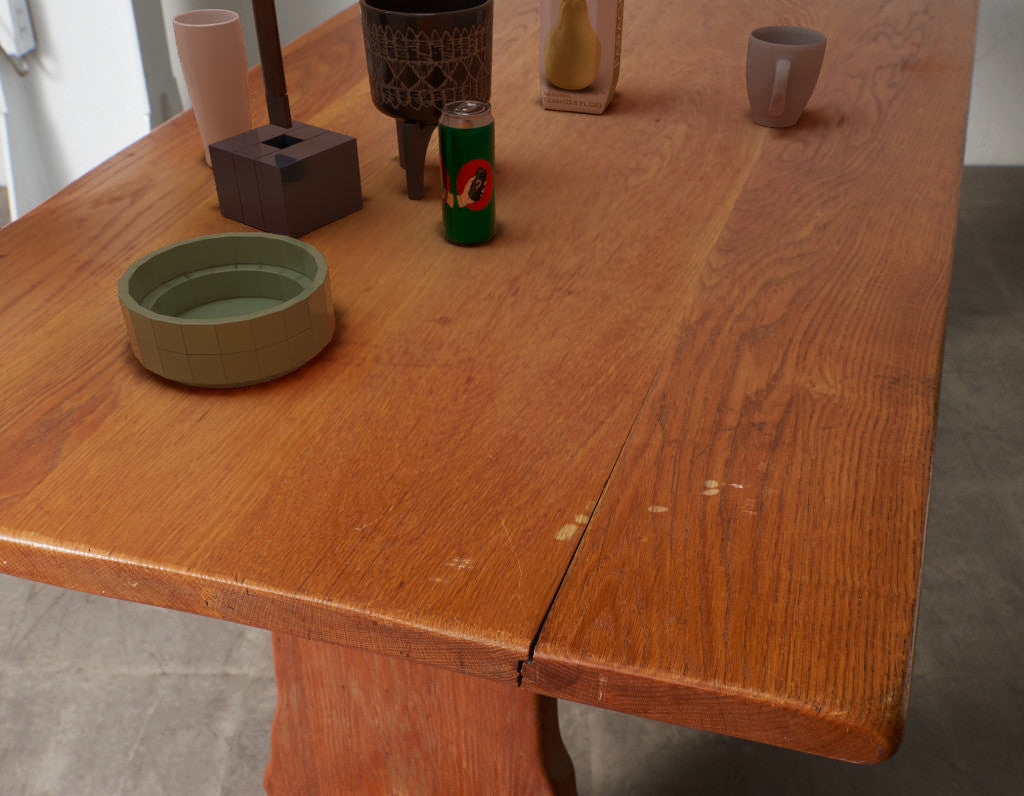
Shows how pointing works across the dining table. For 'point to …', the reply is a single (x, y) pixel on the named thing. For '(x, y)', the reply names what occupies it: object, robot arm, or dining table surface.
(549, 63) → the juice carton
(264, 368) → the bowl
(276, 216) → the holder
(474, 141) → the soda can
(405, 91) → the planter
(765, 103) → the mug
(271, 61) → the dark brown square rod
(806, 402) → the dining table surface
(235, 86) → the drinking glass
